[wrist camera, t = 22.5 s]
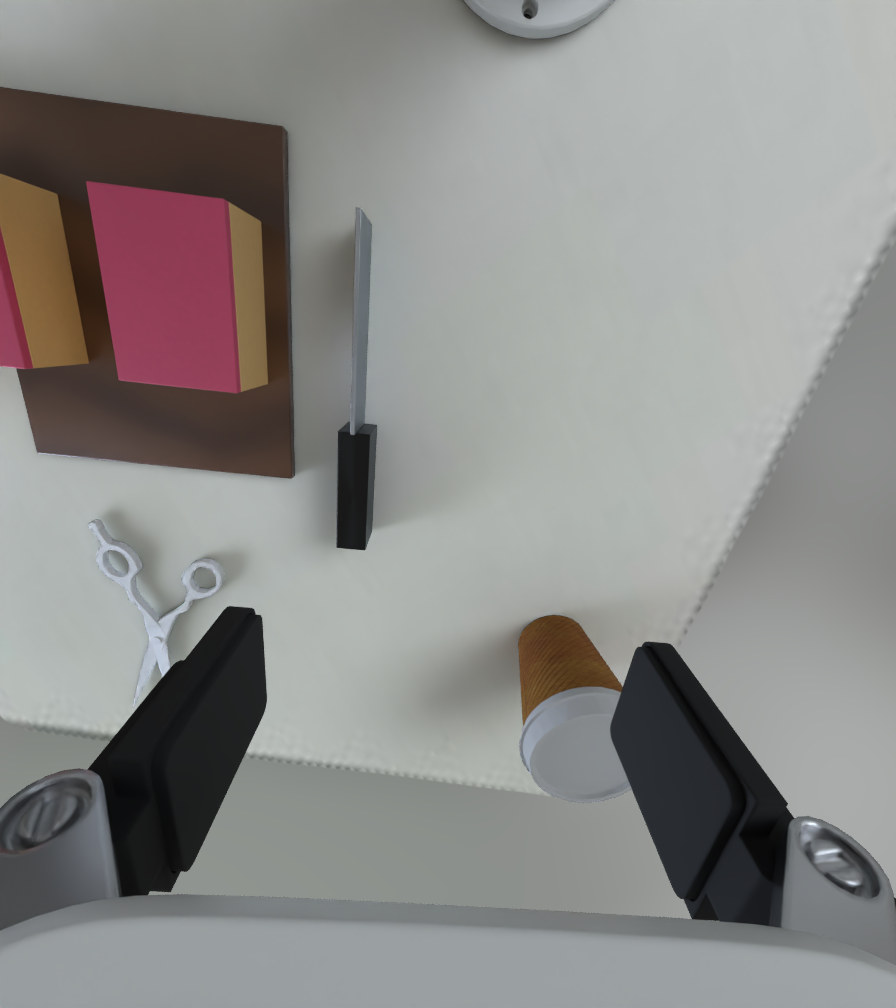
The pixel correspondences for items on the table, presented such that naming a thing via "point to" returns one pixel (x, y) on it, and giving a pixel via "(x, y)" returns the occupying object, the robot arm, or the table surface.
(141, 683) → the scissors
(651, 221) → the table surface
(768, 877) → the robot arm
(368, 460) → the knife
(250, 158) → the cake board
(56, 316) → the cake slice
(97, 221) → the cake
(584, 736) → the disposable coffee cup
